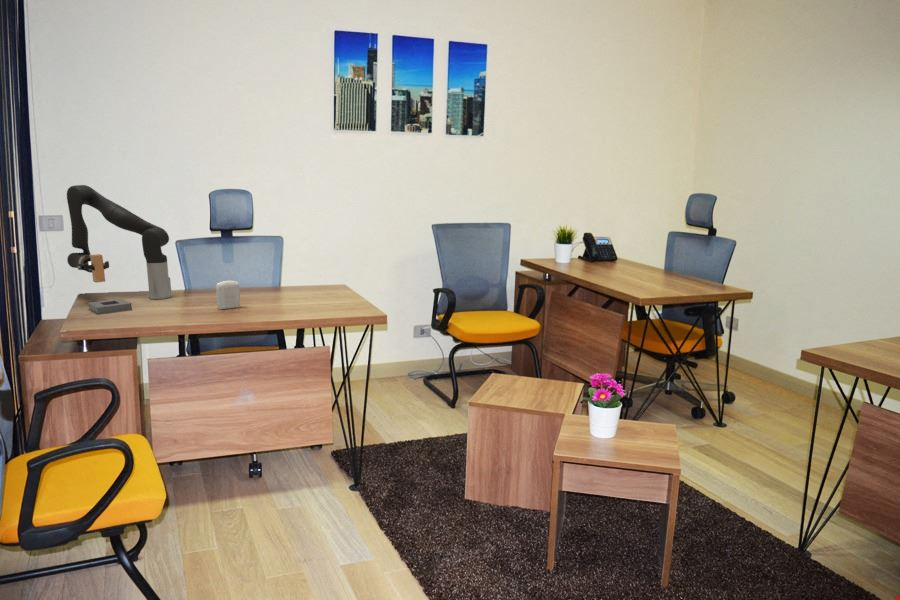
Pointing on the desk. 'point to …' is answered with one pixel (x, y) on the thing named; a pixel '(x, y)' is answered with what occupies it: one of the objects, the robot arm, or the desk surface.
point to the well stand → (110, 306)
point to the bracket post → (98, 268)
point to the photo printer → (228, 294)
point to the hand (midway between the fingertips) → (99, 267)
